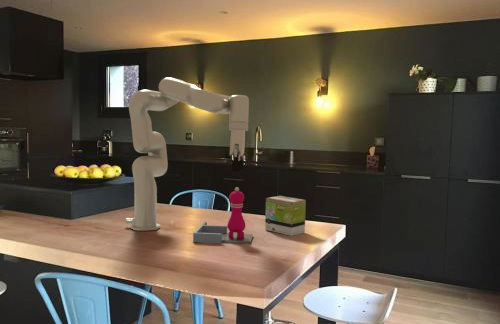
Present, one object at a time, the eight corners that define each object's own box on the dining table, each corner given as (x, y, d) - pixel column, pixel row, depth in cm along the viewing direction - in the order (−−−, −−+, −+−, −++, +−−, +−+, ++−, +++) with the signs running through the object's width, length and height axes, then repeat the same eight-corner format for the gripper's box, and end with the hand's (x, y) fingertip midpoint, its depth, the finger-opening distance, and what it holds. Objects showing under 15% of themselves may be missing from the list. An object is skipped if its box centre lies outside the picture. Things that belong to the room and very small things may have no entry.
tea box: (264, 230, 197) (264, 197, 196) (278, 227, 204) (279, 195, 203) (291, 236, 187) (292, 201, 186) (305, 232, 194) (306, 199, 193)
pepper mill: (243, 239, 175) (243, 188, 174) (225, 238, 176) (225, 187, 175) (246, 235, 182) (247, 186, 181) (229, 234, 183) (230, 185, 182)
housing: (193, 242, 173) (193, 233, 173) (204, 229, 196) (204, 221, 195) (221, 243, 172) (221, 234, 172) (229, 230, 195) (229, 222, 195)
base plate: (219, 242, 174) (219, 232, 173) (224, 235, 186) (224, 225, 185) (250, 243, 173) (250, 233, 172) (252, 236, 185) (253, 227, 184)
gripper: (232, 126, 185) (231, 168, 186) (226, 126, 168) (225, 171, 169) (250, 127, 185) (248, 168, 186) (245, 126, 167) (244, 172, 169)
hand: (237, 170), depth 177 cm, fingers open, 9 cm apart
